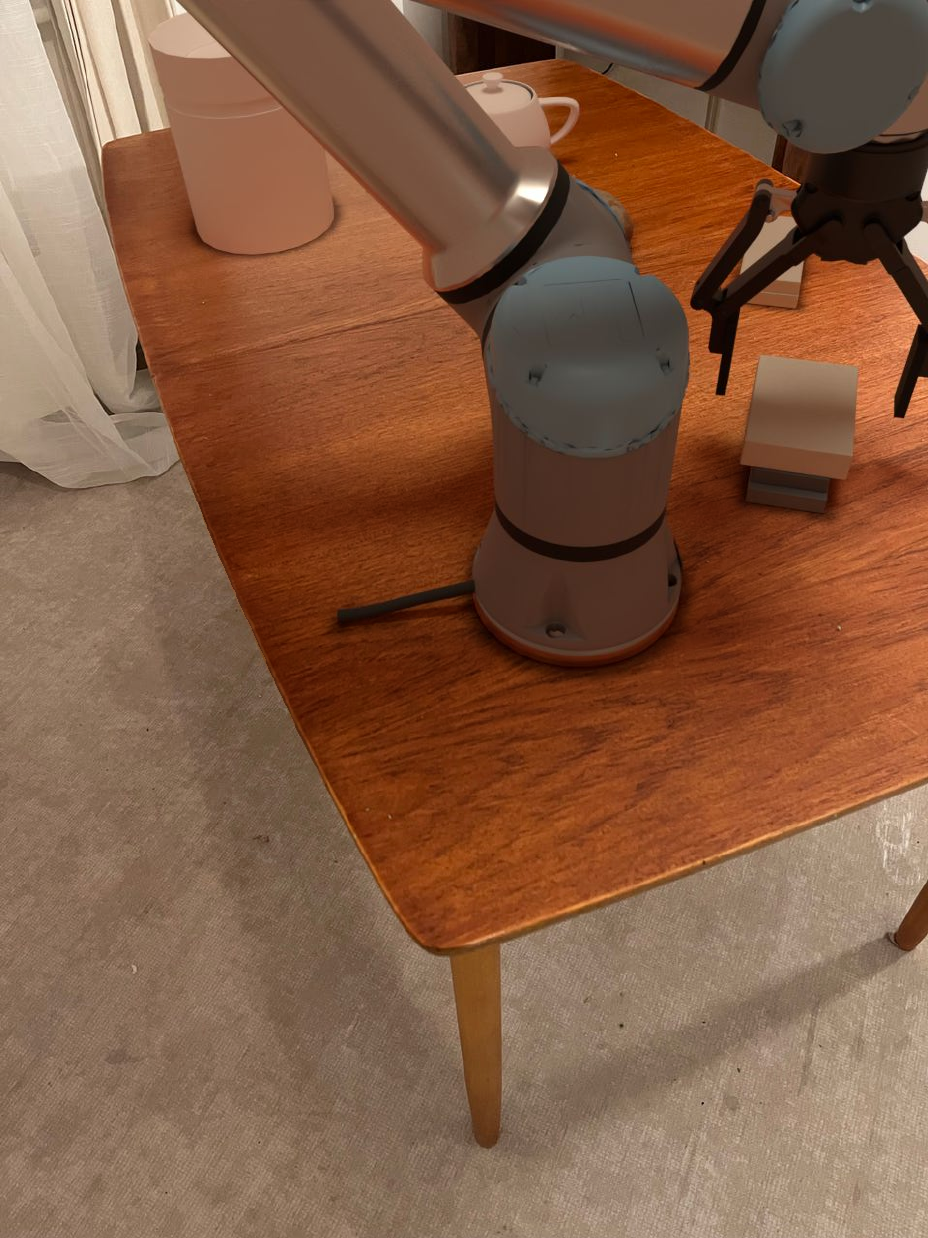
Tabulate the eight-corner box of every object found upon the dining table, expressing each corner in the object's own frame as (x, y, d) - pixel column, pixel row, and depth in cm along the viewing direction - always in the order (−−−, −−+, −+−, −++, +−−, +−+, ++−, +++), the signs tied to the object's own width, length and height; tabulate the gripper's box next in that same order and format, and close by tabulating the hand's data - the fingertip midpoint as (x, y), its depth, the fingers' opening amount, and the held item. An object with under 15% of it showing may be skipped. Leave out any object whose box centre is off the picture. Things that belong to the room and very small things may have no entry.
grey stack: (822, 513, 77) (831, 486, 75) (745, 501, 79) (751, 474, 77) (832, 408, 86) (839, 381, 84) (762, 399, 87) (768, 372, 85)
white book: (845, 480, 76) (853, 455, 74) (739, 464, 77) (744, 440, 76) (851, 390, 83) (858, 366, 81) (754, 377, 85) (759, 353, 83)
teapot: (568, 138, 125) (571, 45, 117) (586, 186, 116) (591, 89, 108) (396, 153, 125) (388, 60, 117) (401, 202, 116) (392, 106, 107)
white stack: (795, 308, 97) (801, 282, 95) (734, 301, 98) (738, 276, 96) (805, 240, 106) (811, 215, 103) (748, 234, 107) (753, 209, 105)
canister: (190, 201, 118) (142, 15, 103) (321, 179, 121) (292, -6, 106) (205, 265, 108) (153, 68, 93) (347, 239, 110) (319, 43, 95)
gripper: (1088, 106, 62) (975, 388, 78) (688, 84, 67) (659, 351, 83) (1102, 158, 57) (979, 447, 73) (671, 130, 63) (644, 403, 79)
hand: (808, 396), depth 78 cm, fingers open, 13 cm apart
